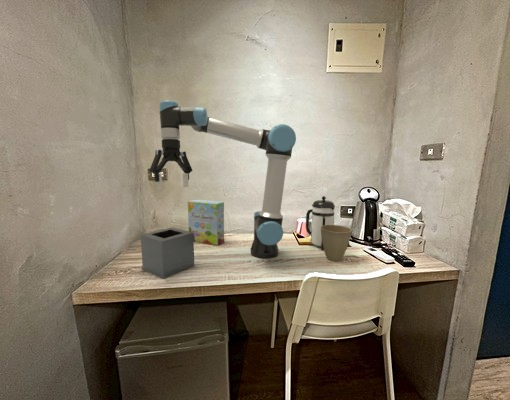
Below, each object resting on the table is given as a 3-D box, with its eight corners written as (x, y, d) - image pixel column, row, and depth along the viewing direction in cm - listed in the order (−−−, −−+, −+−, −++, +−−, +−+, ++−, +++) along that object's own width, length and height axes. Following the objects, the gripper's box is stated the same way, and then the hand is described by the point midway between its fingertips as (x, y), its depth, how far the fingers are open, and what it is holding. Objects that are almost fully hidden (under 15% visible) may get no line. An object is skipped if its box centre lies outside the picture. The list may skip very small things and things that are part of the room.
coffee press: (333, 242, 140) (336, 195, 136) (335, 251, 125) (338, 198, 121) (305, 240, 144) (307, 194, 140) (303, 248, 129) (305, 197, 125)
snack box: (187, 241, 140) (186, 200, 136) (196, 237, 148) (195, 199, 144) (217, 246, 131) (217, 203, 128) (225, 242, 139) (224, 201, 136)
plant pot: (337, 267, 105) (339, 234, 103) (313, 256, 117) (314, 227, 115) (356, 260, 113) (358, 229, 111) (331, 251, 125) (333, 223, 123)
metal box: (194, 265, 105) (193, 232, 103) (163, 279, 92) (161, 241, 90) (173, 257, 114) (172, 227, 112) (142, 269, 101) (140, 234, 99)
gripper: (188, 142, 109) (190, 186, 112) (137, 136, 89) (141, 190, 92) (198, 141, 105) (200, 186, 108) (148, 135, 84) (152, 191, 87)
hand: (173, 188), depth 100 cm, fingers open, 13 cm apart
